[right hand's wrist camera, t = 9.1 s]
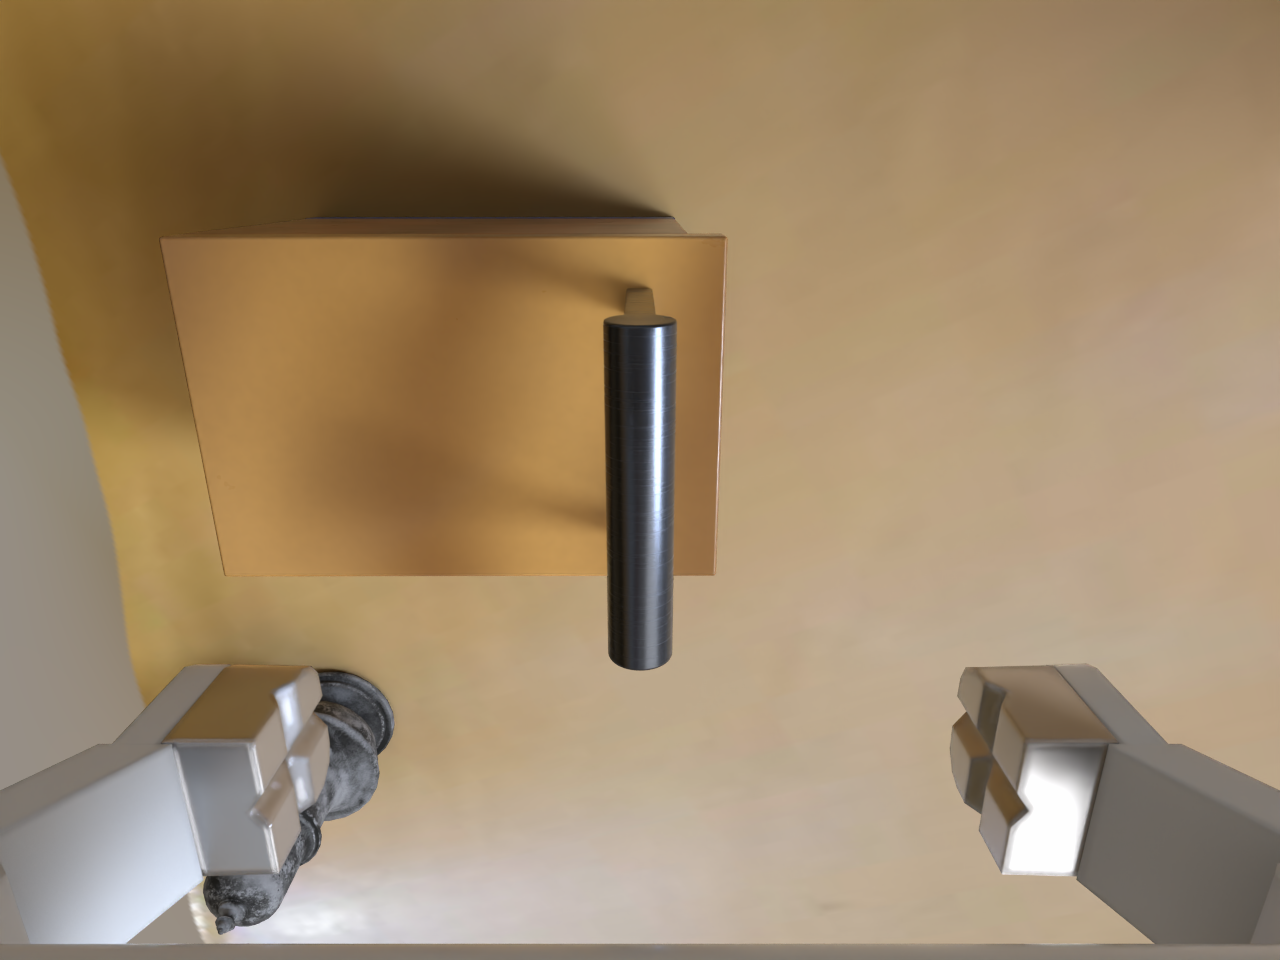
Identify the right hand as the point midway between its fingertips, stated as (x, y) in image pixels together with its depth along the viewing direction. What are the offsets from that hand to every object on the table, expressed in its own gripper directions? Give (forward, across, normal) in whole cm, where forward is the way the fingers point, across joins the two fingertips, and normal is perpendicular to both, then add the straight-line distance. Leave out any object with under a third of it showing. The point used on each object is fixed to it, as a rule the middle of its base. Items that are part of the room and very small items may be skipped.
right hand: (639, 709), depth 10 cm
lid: (+14, +5, 0) cm, 15 cm away
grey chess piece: (+24, +14, +18) cm, 34 cm away
